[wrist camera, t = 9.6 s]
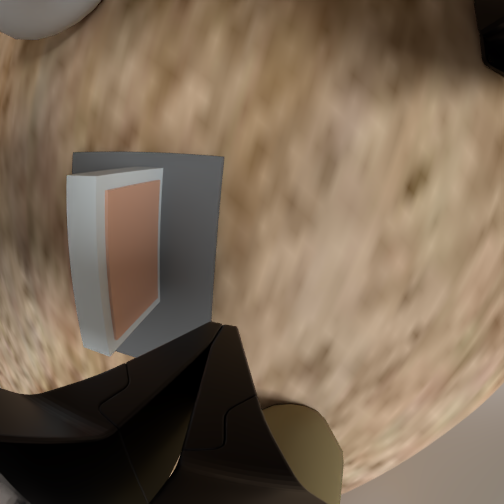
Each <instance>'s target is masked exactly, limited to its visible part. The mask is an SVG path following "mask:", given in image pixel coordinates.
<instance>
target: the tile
mask: <svg viewBox="0 0 504 504" xmlns="http://www.w3.org/2000/svg"><path fill="white" fill-rule="evenodd" d="M162 179H163V168H157V167H128V168H119V169H110V170H101V171H94V172H86V173H79V174H72V175H67V228H68V244H69V256H70V266H71V275H72V283H73V291H74V297H75V304H76V310H77V316H78V321H79V327H80V332H81V337H82V341H83V346H84V347H85V348H88V349H91V350H93V351H96V352H99V353H101V354H104V355H107V356H111V355H112V354H113V353H114V352H115V350H116V349H117V348H118V347H119V346H120V345H121V344H122V343H123V342H124V340H125V339H126V338H127V337H128V336H129V335H130V334H131V333H132V332H133V330H134V329H135V328H136V327H137V326H138V325H139V324H140V323H141V322H142V321H143V320H144V318H145V317H146V316H147V315H148V314H149V313H150V312H151V311H152V310H153V309H154V308H155V306H156V305H157V304H158V303H159V302H160V219H161V196H162Z"/></svg>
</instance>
